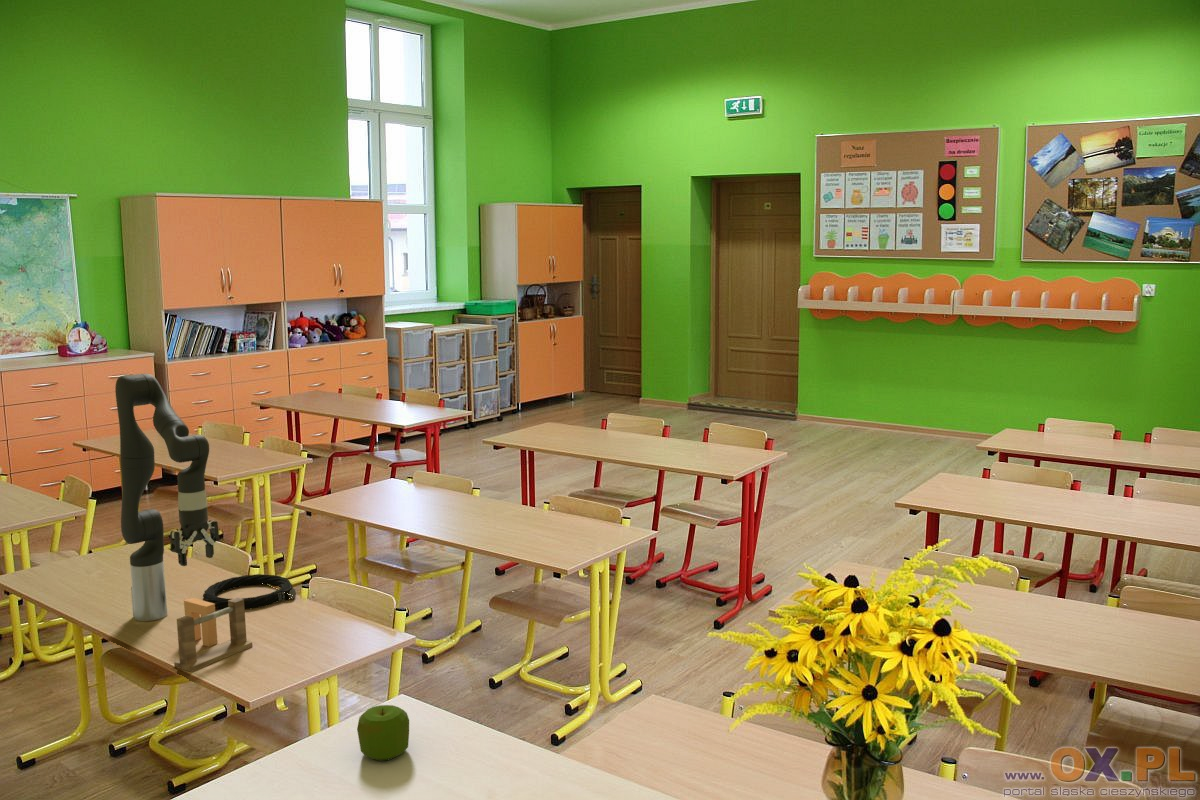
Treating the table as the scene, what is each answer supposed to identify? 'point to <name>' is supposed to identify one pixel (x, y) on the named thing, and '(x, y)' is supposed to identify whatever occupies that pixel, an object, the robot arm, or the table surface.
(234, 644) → the rail
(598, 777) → the table surface
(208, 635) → the orange block
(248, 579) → the cable lock
